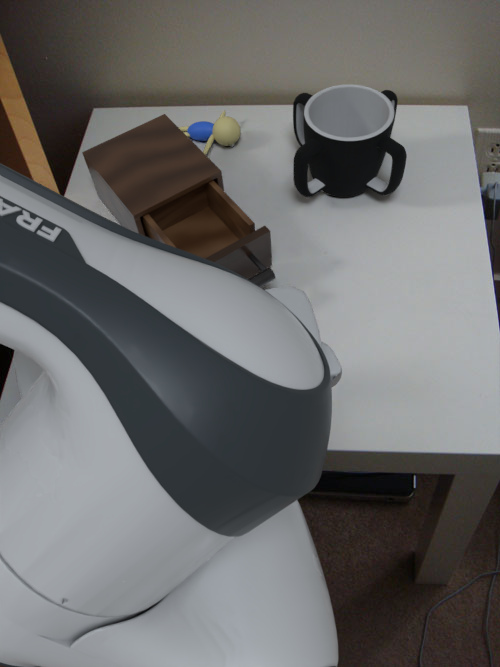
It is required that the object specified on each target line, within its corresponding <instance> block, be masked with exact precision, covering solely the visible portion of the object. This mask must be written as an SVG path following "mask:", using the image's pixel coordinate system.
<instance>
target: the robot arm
mask: <svg viewBox="0 0 500 667" xmlns="http://www.w3.org/2000/svg"><path fill="white" fill-rule="evenodd" d="M0 345H3V346H4V347H8V348H10V349H12V350H13V366H14V373H15V380H16V383H17V388H18V391H19V394H20V397H21V399H19V401H18V402H16V405H15V406H14V407H13V408H12V409H11V411H10V412H9V413H8V415H6V417H5V418H4V420H2V422H1V423H0V666H1V667H338V664H339V639H338V632H337V626H336V619H335V614H334V609H333V604H332V600H331V597H330V596H331V595H330V592H329V589H328V585H327V581H326V577H325V574H324V571H323V567H322V564H321V560H320V557H319V555H318V551H317V548H316V545H315V542H314V538H313V537H312V534H311V531H310V529H309V525H308V523H307V520H306V517H305V515H304V512H303V509H302V507H301V504H300V502H299V499H301V498H302V497H304V496H305V495H307V494H309V493H310V492H312V490H314V489H315V488H316V486H317V485H318V483H319V482H320V479H321V477H322V474H323V470H324V465H325V462H326V458H327V454H328V448H329V443H330V442H329V441H330V437H331V436H330V435H331V427H332V417H333V387H335V386H336V385H338V383H339V382H340V381H341V379H342V375H343V368H342V365H341V362H340V361H339V359H338V356H337V355H336V353H335V350H334V349H333V348H332V347H331V346H330V345H329V344H327V343H326V342H323V341H322V338H321V332H320V328H319V324H318V321H317V318H316V314H315V311H314V308H313V307H312V304H311V302H310V299H309V297H308V295H307V293H306V292H305V291H304V290H302V289H300V288H298V287H296V286H293V285H288V284H287V285H282V286H277V287H272V288H266V289H264V288H263V287H260V286H258V285H257V284H255V283H253V282H252V281H250V280H249V279H247V278H245V277H243V276H241V275H239V274H238V273H236V272H234V271H232V270H230V269H228V268H225V267H223V266H221V265H219V264H217V263H214V262H212V261H209V260H207V259H204V258H202V257H199V256H197V255H194V254H192V253H189V252H186V251H183V250H181V249H178V248H175V247H173V246H170V245H167V244H164V243H162V242H159V241H156V240H154V239H151V238H148V237H146V236H143V235H141V234H139V233H136V232H134V231H132V230H129V229H127V228H125V227H123V226H121V225H120V224H119V223H116V222H115V221H113V220H111V219H108V218H106V217H104V216H103V215H101V214H98V213H97V212H95V211H93V210H91V209H89V208H87V207H85V206H83V205H81V204H79V203H78V202H75V201H73V199H70V198H68V197H66V196H64V195H63V194H60V193H59V192H56V191H54V190H52V189H51V188H49V187H47V186H45V185H43V184H41V183H40V182H38V181H35V180H34V179H31V178H30V177H28V176H26V175H24V174H22V173H20V172H18V171H16V170H14V169H12V168H11V167H9V166H7V165H4V164H3V163H1V162H0Z"/></svg>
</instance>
